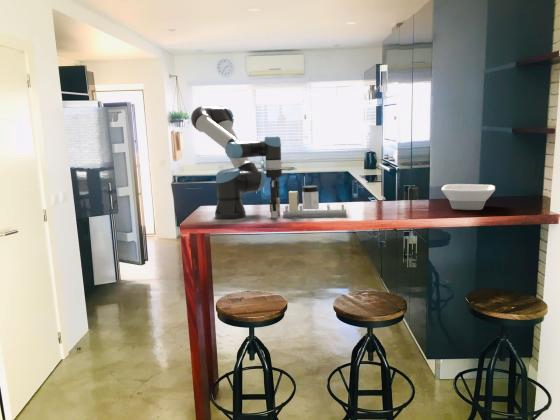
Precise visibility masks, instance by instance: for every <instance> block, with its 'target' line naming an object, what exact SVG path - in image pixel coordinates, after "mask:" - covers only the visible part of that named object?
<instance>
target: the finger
mask: <svg viewBox="0 0 560 420" xmlns="http://www.w3.org/2000/svg"><path fill="white" fill-rule="evenodd" d="M269 200H270V201H269V212H270V218H271V217H272V206H271V204H270V203H271V198H269ZM280 200H281V198H280V197H279V198H277V209H278V218H280V217H281V203H280V202H281V201H280Z"/></svg>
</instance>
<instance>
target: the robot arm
mask: <svg viewBox="0 0 560 420" xmlns="http://www.w3.org/2000/svg"><path fill="white" fill-rule="evenodd" d="M190 121H191V124H192V126H193V127H194V128H195V129H196V130H197V131H198V132H200V133H204V134H205V135H206V136H208V137H209V138H210V139H211V140H213V141H214V142H215V143H216V144H218V145H219V146H221V147H222V148H223V149H224V151H225V155H226V156H227V157H228V158H229V160H230V162H231V164H232V165H233V168H231V167H230V168H225V169H222V170H219V171H218V172H216V174H215V175H216V176H215V177H216V178H215V182H216V195H217V204H216V206H215V207H216V208H215V212H214V217H215V219H219V220H220V219H221V220H231V219H232V220H234V219H235V220H236V219H240V218H244V217H246V210H245V207H244V204H243V201H242V194H249V193H257V192H260V191H262V190H263V189H264V187H265V185H266V181H267V180H266V179H267V178H270V181H269V186H270V187H269V189H270V190H269V191H270V192H269V193H270V199H271V203H270V202H269V205H270V204H271V206H272V219H277V218H279V217H278V209H277V198H280V181H279V179H278V178H282V177H283V170H282V164H283V161H282V144H281V142H282V141H281V137H280V136H279V135H274V136H265V137H264V140H252V141H240V140H239V139H238V137H237V135H236V132H235V131H234V129H233V126H234V114H233V112H232V110H231V109H230V108H229V107H227V106H222V105H219V106H210V105H209V106H208V105H207V106H206V105H201V106H198V107H196V108H195V109H194V110H192V113H191V115H190ZM255 157H265V169H266V170H265V171H264V170H263V169H261V168H257V166H256V164H255V163H254V162H252V161H250V159H249V158H255ZM280 202H281V199H280Z"/></svg>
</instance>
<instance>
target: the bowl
mask: <svg viewBox="0 0 560 420" xmlns="http://www.w3.org/2000/svg"><path fill="white" fill-rule="evenodd" d="M440 190H441V192H442V193H443V195H445V197H446V198H447V199H448V200H449V204H450V206H451V208H452V209H453V210H462V211H465V210H466V211H481V210H483V209H484V206H485V204H486V201H487V200H489V198H490V197H491V196H492V194H494V192H495V191H496V185H493V184H478V183H477V184H473V183H469V184H468V183H452V184H451V183H449V184H444V185H443V186H442V187H441V189H440Z"/></svg>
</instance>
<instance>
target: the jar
mask: <svg viewBox="0 0 560 420" xmlns="http://www.w3.org/2000/svg"><path fill="white" fill-rule="evenodd" d="M301 188H302V193H301V194H302V209H320V205H319V204H320V203H319V187H318V185H304V186H303V185H302V187H301Z"/></svg>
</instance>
